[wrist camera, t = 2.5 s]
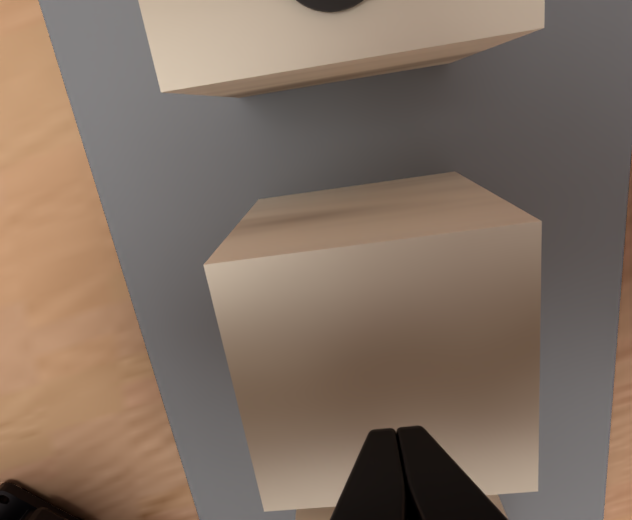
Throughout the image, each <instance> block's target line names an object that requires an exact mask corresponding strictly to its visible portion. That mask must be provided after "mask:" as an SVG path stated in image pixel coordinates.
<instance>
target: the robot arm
mask: <svg viewBox="0 0 632 520" xmlns="http://www.w3.org/2000/svg"><path fill="white" fill-rule="evenodd" d="M0 520H79V519H77V518H75V517H73V516H71V515H70V514H68V513H66V512H64V511H62V510H60V509H59V508H57V507H55V506H53V505H51V504H49V503H47V502H46V501H44V500H42V499H40V498H38V497H36V496H34V495H33V494H31V493H29V492H27V491H25V490H23V489H21V488H20V487H18V486H16V485H14V484H11V483H3V484H1V485H0ZM330 520H508V519H507V518H506V517H505V516H504V514H503V513H502V512H501V511H500V510H499V509H498V508H497V507H496V506H495V505H494V504H493V502H492V501H491V500H490V499H489V498H488V497H487V496H486V495H485V494H484V493H483V492H482V490H481V489H480V488H479V487H478V486H477V485H476V484H475V483H474V482H473V481H472V480H471V478H470V477H469V476H468V475H467V474H466V473H465V472H464V471H463V470H462V469H461V468H460V466H459V465H458V464H457V463H456V462H455V461H454V460H453V459H452V458H451V457H450V456H449V454H448V453H447V452H446V451H445V450H444V449H443V448H442V447H441V446H440V445H439V444H438V442H437V441H436V440H435V439H434V438H433V437H432V436H431V435H430V434H429V433H428V432H427V430H426V429H425V428H424V427H422V426H419V425H417V426H406V427H399V428H398V429H397V431H395V430H394V429H393V428H383V429H373V430H371V431H369V433H368V435H367V437H366V439H365V441H364V444H363V446H362V448H361V450H360V452H359V455H358V457H357V459H356V461H355V464H354V466H353V468H352V470H351V473H350V475H349V477H348V479H347V482H346V484H345V486H344V488H343V491H342V493H341V495H340V497H339V500H338V502H337V504H336V506H335V509H334V511H333V513H332V515H331V518H330Z"/></svg>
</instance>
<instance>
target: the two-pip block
mask: <svg viewBox="0 0 632 520" xmlns="http://www.w3.org/2000/svg"><path fill="white" fill-rule="evenodd" d="M138 2H139V6H140V10H141V14H142V18H143V22H144V26H145V30H146V34H147V38H148V42H149V46H150V50H151V55H152V59H153V63H154V67H155V71H156V75H157V79H158V83H159V87H160V91H161V92H162V93H176V94H191V95H205V96H220V97H234V98H241V97H247V96H253V95H259V94H265V93H272V92H278V91H284V90H290V89H296V88H302V87H308V86H314V85H320V84H326V83H332V82H339V81H345V80H351V79H357V78H363V77H369V76H375V75H381V74H387V73H393V72H399V71H406V70H412V69H418V68H424V67H430V66H436V65H442V64H448V63H452V62H454V61H457V60H460V59H462V58H465V57H468V56H471V55H473V54H476V53H479V52H481V51H484V50H487V49H489V48H492V47H495V46H497V45H500V44H503V43H505V42H508V41H511V40H513V39H516V38H519V37H521V36H524V35H527V34H530V33H532V32H535V31H538V30H540V29H543V28H544V21H545V0H138Z"/></svg>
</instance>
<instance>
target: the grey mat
mask: <svg viewBox="0 0 632 520" xmlns="http://www.w3.org/2000/svg"><path fill="white" fill-rule="evenodd" d="M38 1H39V4H40V7H41V10H42V13H43V17H44V20H45V23H46V26H47V30H48V33H49V36H50V39H51V42H52V46H53V49H54V52H55V55H56V59H57V62H58V65H59V68H60V71H61V75H62V78H63V81H64V84H65V88H66V91H67V94H68V97H69V100H70V104H71V107H72V110H73V113H74V117H75V120H76V123H77V126H78V129H79V133H80V136H81V139H82V142H83V146H84V149H85V152H86V155H87V159H88V162H89V165H90V168H91V171H92V175H93V178H94V181H95V184H96V188H97V191H98V194H99V197H100V200H101V204H102V207H103V210H104V213H105V217H106V220H107V223H108V226H109V229H110V233H111V236H112V239H113V242H114V246H115V249H116V252H117V255H118V258H119V262H120V265H121V268H122V271H123V275H124V278H125V281H126V284H127V287H128V291H129V294H130V297H131V300H132V304H133V307H134V310H135V313H136V316H137V320H138V323H139V326H140V329H141V333H142V336H143V339H144V342H145V345H146V349H147V352H148V355H149V358H150V362H151V365H152V368H153V371H154V374H155V378H156V381H157V384H158V387H159V391H160V394H161V397H162V400H163V403H164V407H165V410H166V413H167V416H168V420H169V423H170V426H171V429H172V432H173V436H174V439H175V442H176V445H177V449H178V452H179V455H180V458H181V462H182V465H183V468H184V471H185V474H186V478H187V481H188V484H189V487H190V491H191V494H192V497H193V500H194V503H195V507H196V510H197V513H198V516H199V520H295V518H296V509H294V510H281V511H267V512H264V509H263V505H262V501H261V497H260V493H259V489H258V485H257V481H256V476H255V472H254V468H253V464H252V460H251V456H250V452H249V448H248V444H247V440H246V436H245V432H244V428H243V424H242V420H241V416H240V412H239V407H238V403H237V399H236V395H235V391H234V387H233V383H232V379H231V375H230V371H229V367H228V363H227V359H226V355H225V351H224V347H223V343H222V339H221V334H220V330H219V326H218V322H217V318H216V314H215V310H214V306H213V302H212V298H211V294H210V290H209V286H208V282H207V278H206V274H205V270H204V263H205V262H206V261H207V260H208V259H209V257H210V256H211V255H212V254H213V253H214V252H215V250H216V249H217V248H218V247H219V246H220V244H221V243H222V242H223V241H224V240H225V239H226V237H227V236H228V235H229V234H230V233H231V231H232V230H233V229H234V228H235V227H236V225H237V224H238V223H239V222H240V221H241V220H242V218H243V217H244V216H245V215H246V214H247V212H248V211H249V210H250V209H251V208H252V207H253V205H254V204H255V203H256V202H257V201H258V199H264V198H271V197H278V196H285V195H292V194H299V193H306V192H313V191H320V190H328V189H335V188H342V187H349V186H356V185H363V184H370V183H377V182H384V181H391V180H398V179H405V178H412V177H419V176H426V175H434V174H441V173H448V172H457V173H459V174H460V175H462V176H464V177H466V178H467V179H469V180H471V181H473V182H474V183H476V184H478V185H480V186H481V187H483V188H485V189H487V190H488V191H490V192H492V193H494V194H495V195H497V196H499V197H501V198H502V199H504V200H506V201H508V202H509V203H511V204H513V205H514V206H516V207H518V208H520V209H521V210H523V211H525V212H527V213H528V214H530V215H532V216H534V217H535V218H537V219H539V220H541V221H542V243H541V317H540V391H539V465H538V491H537V492H524V493H510V494H498V496H499V498H500V501H501V503H502V506H503V508H504V510H505V513H506V515H507V518H508V520H603V518H604V505H605V492H606V479H607V466H608V453H609V439H610V426H611V413H612V400H613V387H614V374H615V361H616V348H617V335H618V322H619V308H620V295H621V282H622V269H623V256H624V243H625V230H626V217H627V204H628V191H629V177H630V164H631V151H632V0H545V21H544V28H543V29H540V30H538V31H535V32H532V33H530V34H527V35H524V36H521V37H519V38H516V39H513V40H511V41H508V42H505V43H503V44H500V45H497V46H495V47H492V48H489V49H487V50H484V51H481V52H479V53H476V54H473V55H471V56H468V57H465V58H462V59H460V60H457V61H454V62H452V63H448V64H442V65H436V66H430V67H424V68H418V69H412V70H406V71H399V72H393V73H387V74H381V75H375V76H369V77H363V78H357V79H351V80H345V81H339V82H332V83H326V84H320V85H314V86H308V87H302V88H296V89H290V90H284V91H278V92H272V93H265V94H259V95H253V96H247V97H241V98H234V97H220V96H205V95H191V94H176V93H162V92H161V91H160V87H159V83H158V79H157V75H156V71H155V67H154V63H153V59H152V55H151V50H150V46H149V42H148V38H147V34H146V30H145V26H144V22H143V18H142V14H141V10H140V6H139V2H138V0H38Z"/></svg>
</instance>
